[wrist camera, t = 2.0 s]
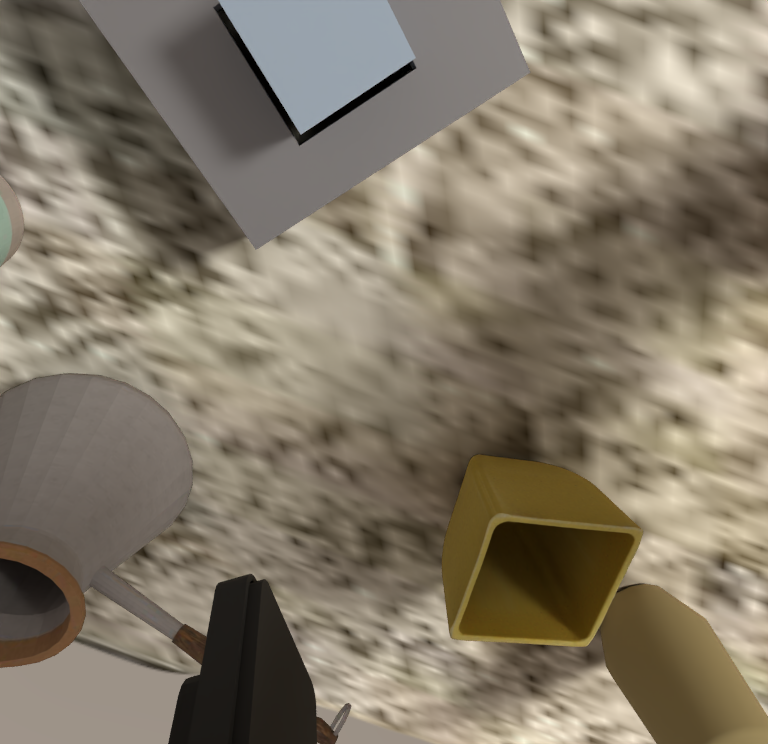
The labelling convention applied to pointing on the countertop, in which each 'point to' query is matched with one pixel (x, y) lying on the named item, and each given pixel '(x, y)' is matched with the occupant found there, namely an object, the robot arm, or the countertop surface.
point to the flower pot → (532, 554)
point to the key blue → (320, 50)
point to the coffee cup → (9, 222)
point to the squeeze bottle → (677, 672)
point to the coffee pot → (86, 510)
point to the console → (264, 122)
